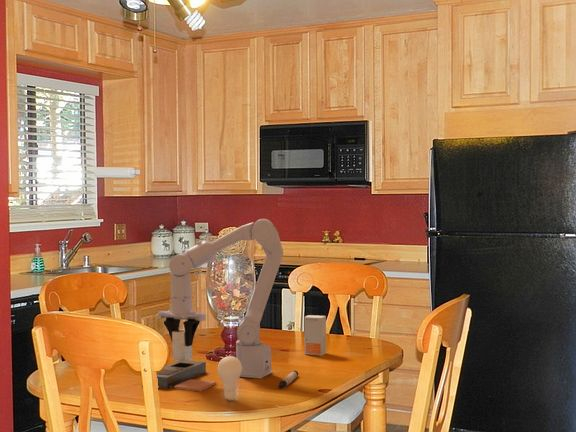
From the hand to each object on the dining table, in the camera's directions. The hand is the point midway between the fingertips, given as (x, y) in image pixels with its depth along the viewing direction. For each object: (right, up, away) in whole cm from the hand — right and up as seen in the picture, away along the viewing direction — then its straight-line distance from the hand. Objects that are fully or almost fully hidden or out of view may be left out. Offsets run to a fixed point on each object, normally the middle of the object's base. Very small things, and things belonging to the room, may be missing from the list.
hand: (182, 345), depth 221 cm
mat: (+5, -9, -12) cm, 16 cm away
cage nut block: (0, -4, 0) cm, 4 cm away
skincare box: (+38, -7, +27) cm, 48 cm away
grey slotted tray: (-2, -9, -3) cm, 10 cm away
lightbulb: (+15, -10, -26) cm, 32 cm away
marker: (+30, -9, -10) cm, 33 cm away
